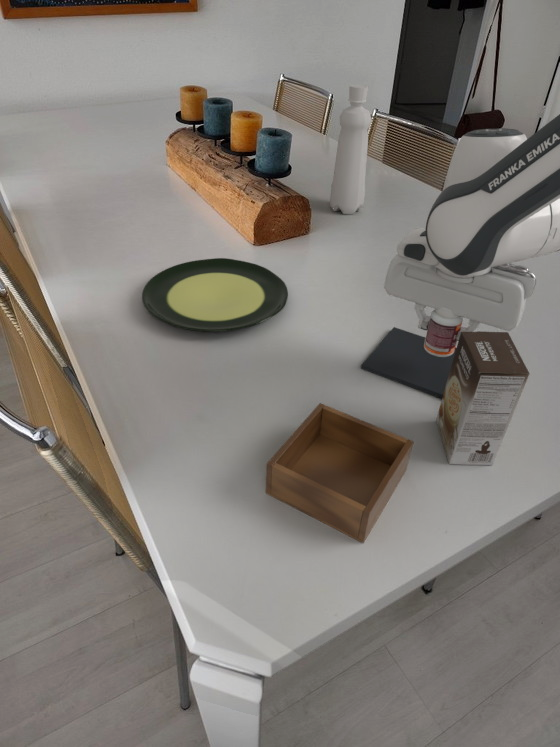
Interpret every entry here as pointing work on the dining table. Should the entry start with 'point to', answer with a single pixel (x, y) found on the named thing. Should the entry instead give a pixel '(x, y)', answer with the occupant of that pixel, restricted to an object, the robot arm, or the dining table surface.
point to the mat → (409, 363)
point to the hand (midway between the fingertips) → (442, 333)
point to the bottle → (351, 154)
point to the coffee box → (480, 397)
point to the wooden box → (339, 470)
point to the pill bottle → (442, 332)
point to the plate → (215, 295)
